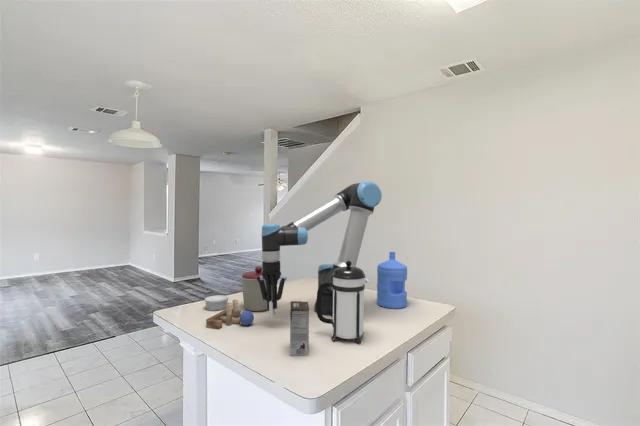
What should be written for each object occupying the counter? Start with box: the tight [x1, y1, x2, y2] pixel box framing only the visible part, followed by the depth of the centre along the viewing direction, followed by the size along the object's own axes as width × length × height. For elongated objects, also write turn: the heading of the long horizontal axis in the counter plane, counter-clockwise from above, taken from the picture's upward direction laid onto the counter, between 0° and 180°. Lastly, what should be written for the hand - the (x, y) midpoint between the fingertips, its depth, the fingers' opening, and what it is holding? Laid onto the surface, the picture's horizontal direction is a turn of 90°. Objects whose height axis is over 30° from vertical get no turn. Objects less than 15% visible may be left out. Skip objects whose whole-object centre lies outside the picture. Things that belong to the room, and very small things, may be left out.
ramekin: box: [204, 294, 229, 312], centre depth 159 cm, size 11×11×5 cm
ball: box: [239, 310, 255, 326], centre depth 136 cm, size 6×6×6 cm
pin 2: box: [232, 299, 239, 318], centre depth 141 cm, size 2×2×9 cm
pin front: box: [220, 316, 242, 325], centre depth 138 cm, size 2×2×9 cm
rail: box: [205, 309, 242, 330], centre depth 139 cm, size 7×17×3 cm, turn 164°
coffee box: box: [289, 300, 310, 357], centre depth 111 cm, size 9×6×16 cm
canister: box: [239, 266, 272, 312], centre depth 159 cm, size 18×18×21 cm
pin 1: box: [225, 302, 233, 326], centre depth 136 cm, size 2×2×9 cm
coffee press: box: [316, 261, 370, 345], centre depth 123 cm, size 17×16×30 cm
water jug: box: [376, 251, 408, 310], centre depth 168 cm, size 16×16×28 cm
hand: (272, 316), depth 133 cm, fingers closed
